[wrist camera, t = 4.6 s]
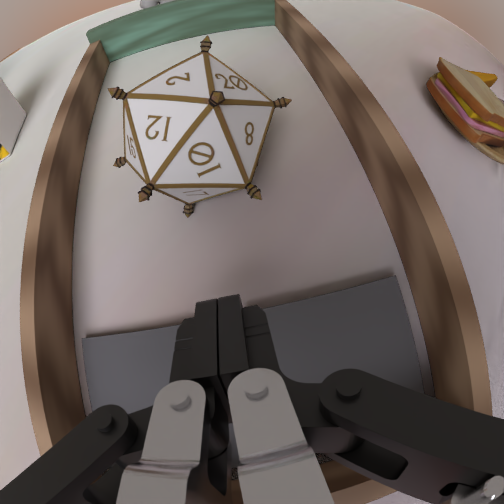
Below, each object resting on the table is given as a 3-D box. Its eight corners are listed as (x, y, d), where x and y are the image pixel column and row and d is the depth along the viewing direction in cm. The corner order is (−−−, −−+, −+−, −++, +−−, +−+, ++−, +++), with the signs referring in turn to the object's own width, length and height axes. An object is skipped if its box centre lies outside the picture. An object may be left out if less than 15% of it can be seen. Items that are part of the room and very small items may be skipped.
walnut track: (456, 425, 11) (512, 437, 6) (92, 491, 10) (44, 517, 5) (282, 21, 25) (282, -14, 20) (102, 61, 24) (88, 30, 20)
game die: (217, 182, 21) (236, 50, 16) (296, 238, 16) (339, 55, 10) (97, 202, 16) (100, 41, 10) (135, 285, 11) (142, 7, 5)
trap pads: (423, 409, 11) (427, 410, 11) (110, 466, 11) (107, 468, 11) (392, 277, 14) (395, 275, 14) (85, 339, 14) (81, 338, 13)
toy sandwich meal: (537, 180, 16) (562, 154, 12) (451, 162, 17) (479, 122, 13) (488, 94, 21) (503, 68, 16) (400, 68, 21) (411, 32, 17)
